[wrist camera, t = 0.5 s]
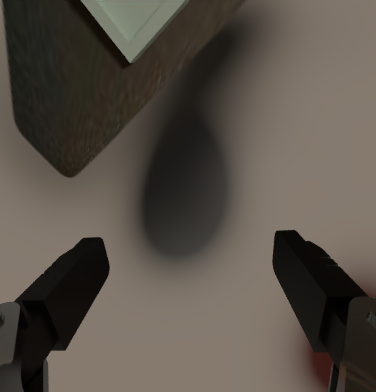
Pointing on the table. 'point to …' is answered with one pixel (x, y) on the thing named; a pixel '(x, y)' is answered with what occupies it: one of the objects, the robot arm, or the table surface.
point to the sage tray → (134, 21)
